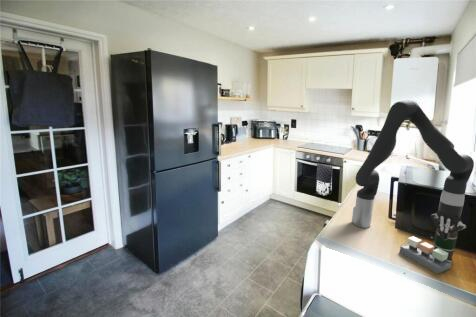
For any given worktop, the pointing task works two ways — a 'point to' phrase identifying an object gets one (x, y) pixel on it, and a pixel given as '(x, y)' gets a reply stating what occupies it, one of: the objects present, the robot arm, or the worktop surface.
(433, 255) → the key sage
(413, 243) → the key ivory
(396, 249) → the worktop surface
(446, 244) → the beer bottle
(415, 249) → the grey tray
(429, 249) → the key terracotta
